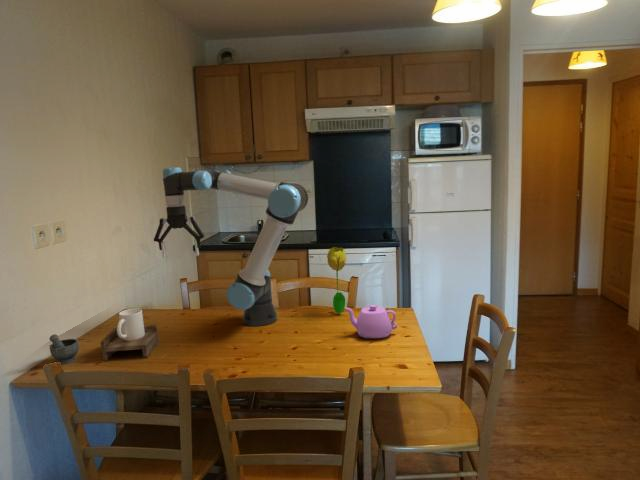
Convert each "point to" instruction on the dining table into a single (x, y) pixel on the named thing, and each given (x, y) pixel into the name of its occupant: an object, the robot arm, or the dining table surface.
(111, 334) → the shelf
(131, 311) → the mug
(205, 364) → the dining table surface
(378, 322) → the teapot
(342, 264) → the flower
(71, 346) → the mortar and pestle
